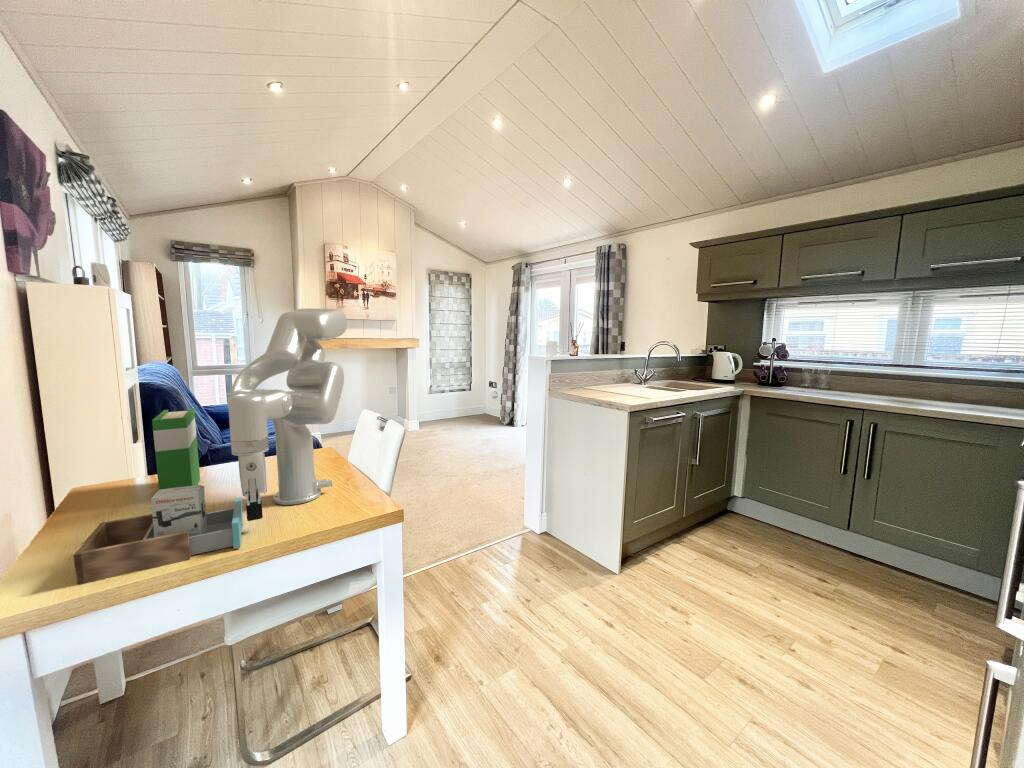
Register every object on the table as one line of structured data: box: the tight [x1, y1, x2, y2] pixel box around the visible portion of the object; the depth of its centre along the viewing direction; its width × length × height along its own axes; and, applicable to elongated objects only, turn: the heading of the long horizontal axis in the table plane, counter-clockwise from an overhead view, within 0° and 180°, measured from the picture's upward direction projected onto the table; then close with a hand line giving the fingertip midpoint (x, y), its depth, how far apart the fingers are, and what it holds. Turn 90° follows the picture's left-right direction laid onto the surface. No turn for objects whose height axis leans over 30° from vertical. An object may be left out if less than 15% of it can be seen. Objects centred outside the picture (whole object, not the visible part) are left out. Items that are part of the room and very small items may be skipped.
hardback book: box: [151, 407, 201, 490], centre depth 122 cm, size 18×7×24 cm, turn 32°
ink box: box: [150, 484, 207, 538], centre depth 90 cm, size 9×5×12 cm, turn 116°
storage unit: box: [73, 513, 192, 585], centre depth 87 cm, size 17×16×6 cm
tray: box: [143, 496, 244, 556], centre depth 92 cm, size 17×16×6 cm
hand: (254, 518), depth 98 cm, fingers closed
